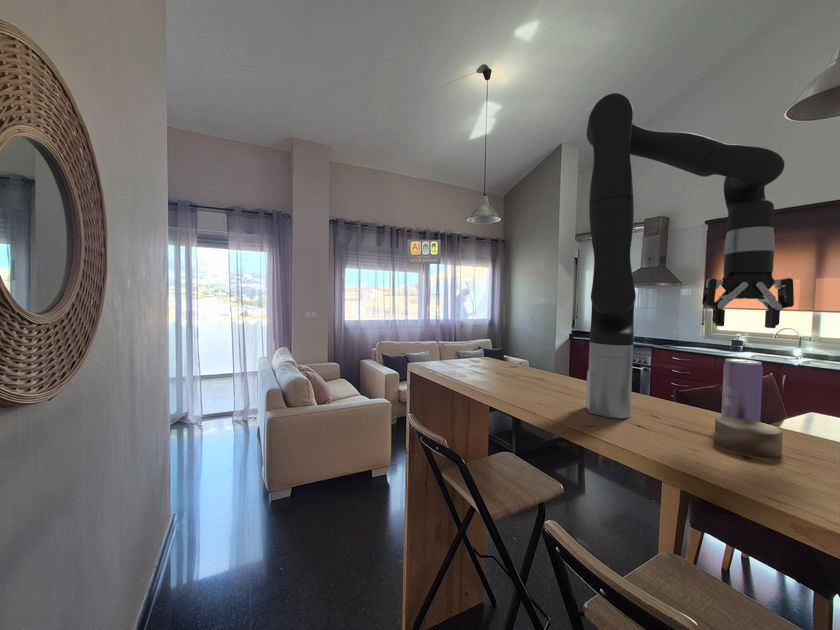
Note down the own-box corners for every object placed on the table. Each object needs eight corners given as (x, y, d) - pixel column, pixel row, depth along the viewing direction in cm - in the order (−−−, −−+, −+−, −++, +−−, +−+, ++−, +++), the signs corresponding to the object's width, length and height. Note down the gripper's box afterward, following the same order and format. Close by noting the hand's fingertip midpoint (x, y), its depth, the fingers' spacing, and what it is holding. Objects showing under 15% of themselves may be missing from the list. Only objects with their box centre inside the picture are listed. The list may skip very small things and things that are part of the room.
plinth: (729, 452, 59) (730, 429, 59) (705, 434, 68) (706, 414, 68) (795, 461, 56) (796, 437, 56) (761, 441, 65) (762, 420, 64)
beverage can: (767, 436, 67) (771, 363, 67) (733, 433, 69) (737, 362, 68) (745, 425, 73) (748, 359, 73) (714, 423, 74) (717, 357, 74)
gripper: (715, 250, 69) (712, 326, 69) (806, 247, 64) (801, 329, 64) (699, 255, 76) (696, 324, 76) (779, 253, 71) (775, 327, 71)
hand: (744, 327), depth 70 cm, fingers open, 8 cm apart
